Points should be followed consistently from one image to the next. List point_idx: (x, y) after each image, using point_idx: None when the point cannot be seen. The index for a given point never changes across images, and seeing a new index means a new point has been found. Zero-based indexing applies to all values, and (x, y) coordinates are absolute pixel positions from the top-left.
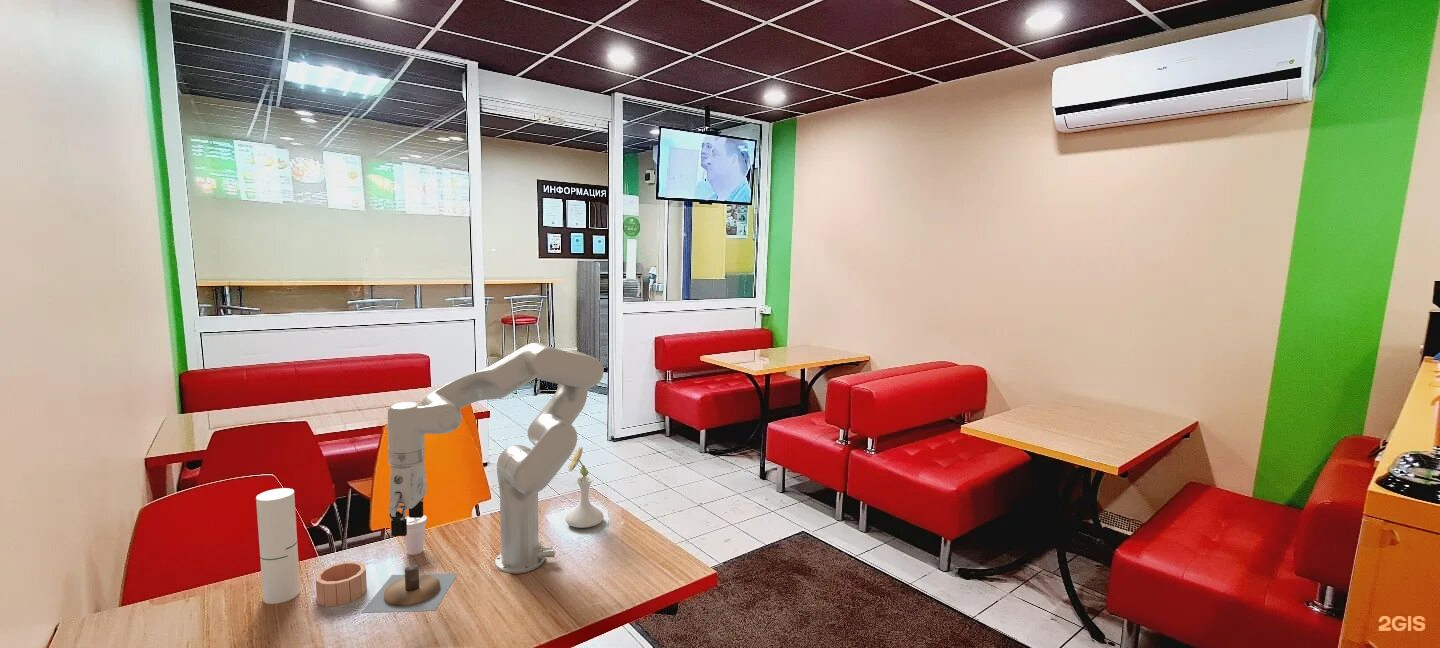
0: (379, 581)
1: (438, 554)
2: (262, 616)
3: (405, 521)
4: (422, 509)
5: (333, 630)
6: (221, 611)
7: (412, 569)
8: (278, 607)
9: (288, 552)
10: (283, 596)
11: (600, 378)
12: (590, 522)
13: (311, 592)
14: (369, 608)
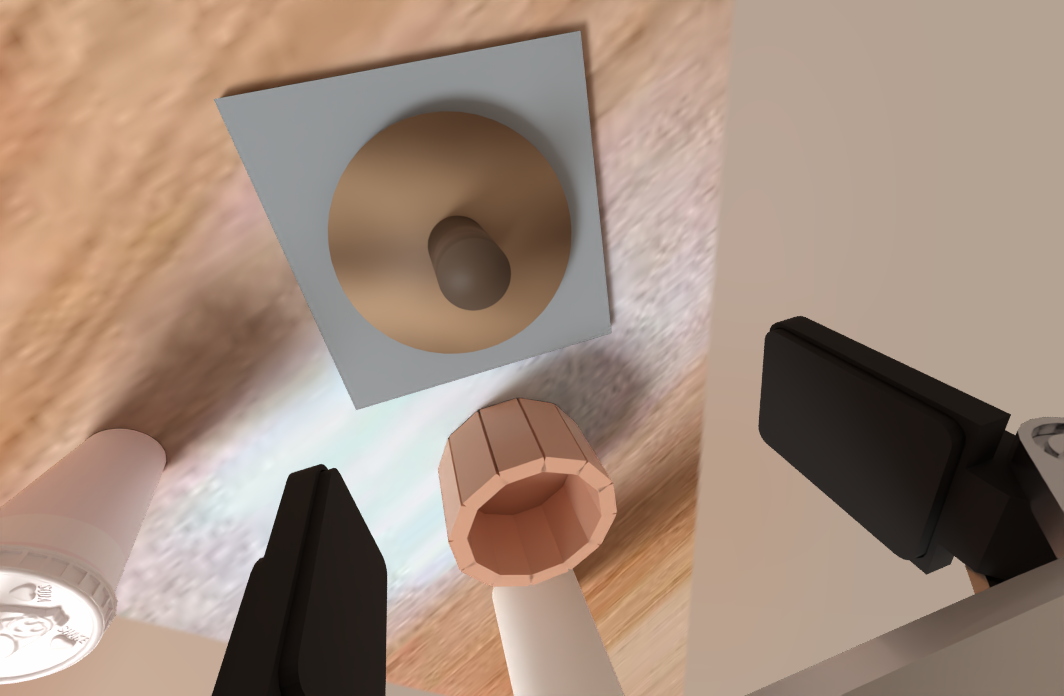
0: (399, 423)
1: (62, 351)
2: (623, 545)
3: (971, 400)
4: (297, 549)
5: (682, 349)
6: (608, 621)
7: (487, 262)
8: None
9: None
10: (568, 572)
11: None
12: None
13: None
14: (587, 324)
